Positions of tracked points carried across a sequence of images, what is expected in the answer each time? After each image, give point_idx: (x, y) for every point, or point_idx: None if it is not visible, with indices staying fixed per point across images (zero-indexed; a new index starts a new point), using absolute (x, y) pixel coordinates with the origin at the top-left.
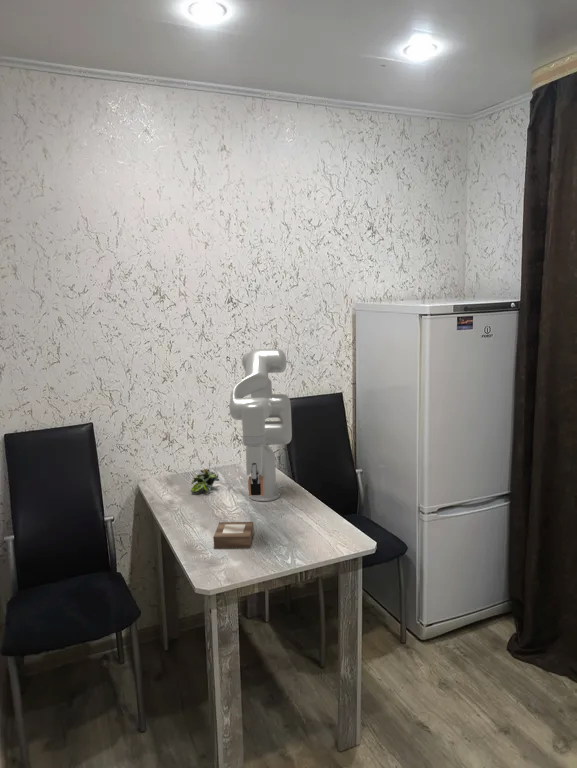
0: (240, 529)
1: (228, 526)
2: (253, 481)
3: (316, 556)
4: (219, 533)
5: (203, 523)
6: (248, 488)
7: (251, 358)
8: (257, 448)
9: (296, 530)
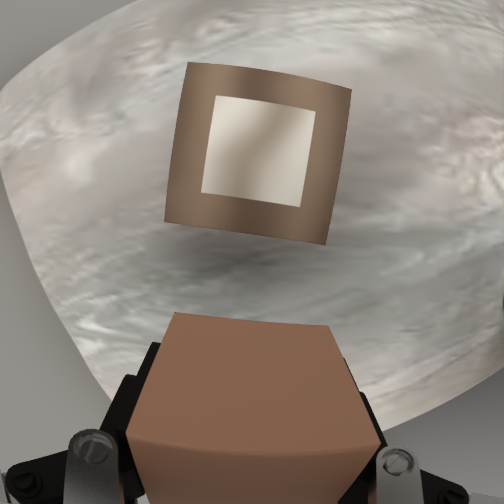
0: (243, 181)
1: (290, 125)
2: (46, 470)
3: (118, 387)
4: (222, 84)
5: (422, 59)
6: (156, 359)
7: None
8: None
9: None
